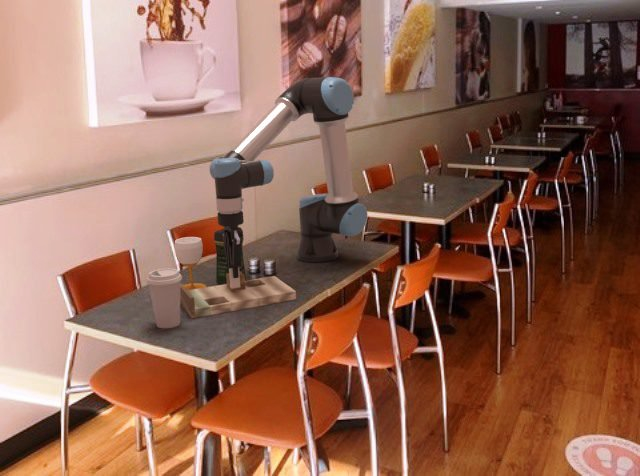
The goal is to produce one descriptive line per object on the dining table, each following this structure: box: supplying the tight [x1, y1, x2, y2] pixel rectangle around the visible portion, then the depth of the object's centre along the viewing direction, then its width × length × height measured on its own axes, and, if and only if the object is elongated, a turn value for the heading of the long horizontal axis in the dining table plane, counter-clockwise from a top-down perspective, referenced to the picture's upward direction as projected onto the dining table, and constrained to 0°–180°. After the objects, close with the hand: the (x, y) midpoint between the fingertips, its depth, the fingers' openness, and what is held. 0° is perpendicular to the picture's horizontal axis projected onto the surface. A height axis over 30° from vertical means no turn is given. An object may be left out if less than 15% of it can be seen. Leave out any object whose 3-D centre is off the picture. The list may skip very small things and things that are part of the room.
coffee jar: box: [213, 226, 247, 285], centre depth 221 cm, size 10×8×19 cm
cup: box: [174, 236, 207, 290], centre depth 217 cm, size 9×9×16 cm
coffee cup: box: [146, 267, 183, 329], centre depth 187 cm, size 10×10×15 cm
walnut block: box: [226, 271, 246, 292], centre depth 209 cm, size 4×4×4 cm
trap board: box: [180, 275, 297, 319], centre depth 206 cm, size 32×18×6 cm, turn 115°
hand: (235, 287), depth 206 cm, fingers closed
